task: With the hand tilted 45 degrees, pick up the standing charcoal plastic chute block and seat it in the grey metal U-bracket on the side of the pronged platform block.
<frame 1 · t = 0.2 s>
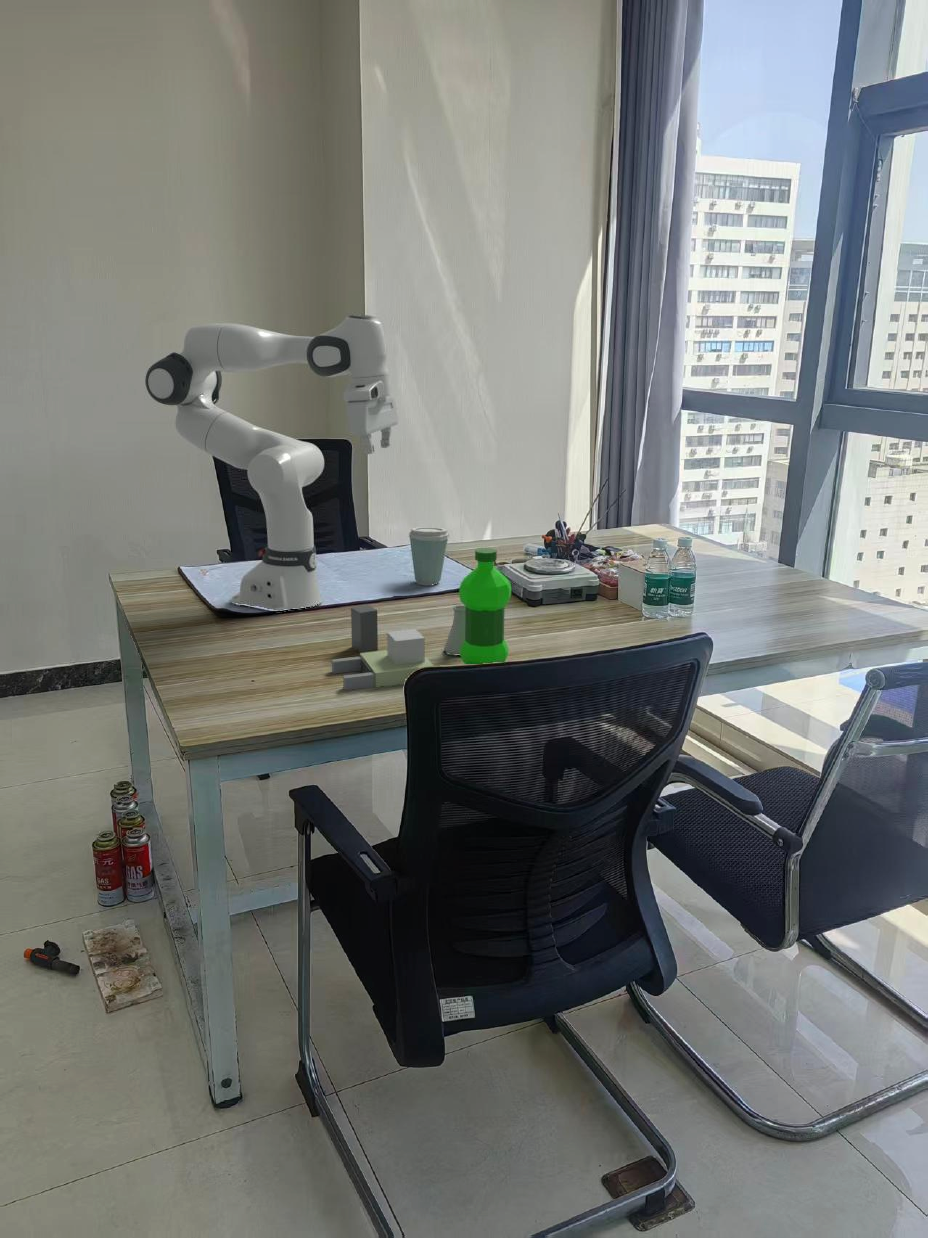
hand: (377, 450, 226), 39 cm above the table, tool pointing down, fingers open, 8 cm apart
disposable coffee cup: (429, 583, 263), on the table
plastic bottle: (484, 670, 201), on the table
flask: (459, 652, 212), on the table
chute block: (364, 648, 213), on the table
pronged platform block: (387, 674, 198), on the table
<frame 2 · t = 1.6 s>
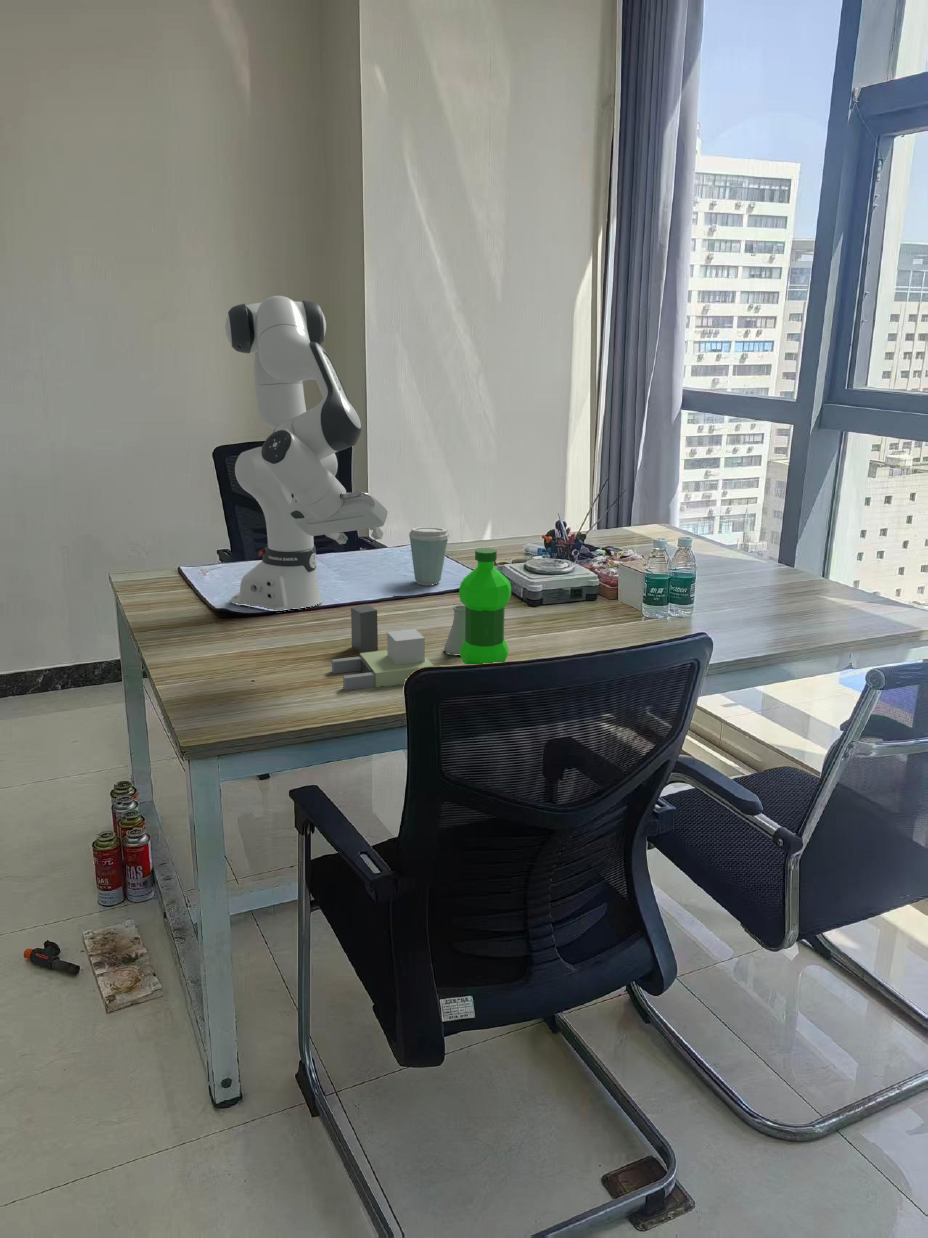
hand: (361, 539, 205), 24 cm above the table, tool tilted 45°, fingers open, 8 cm apart
nothing on the table moved.
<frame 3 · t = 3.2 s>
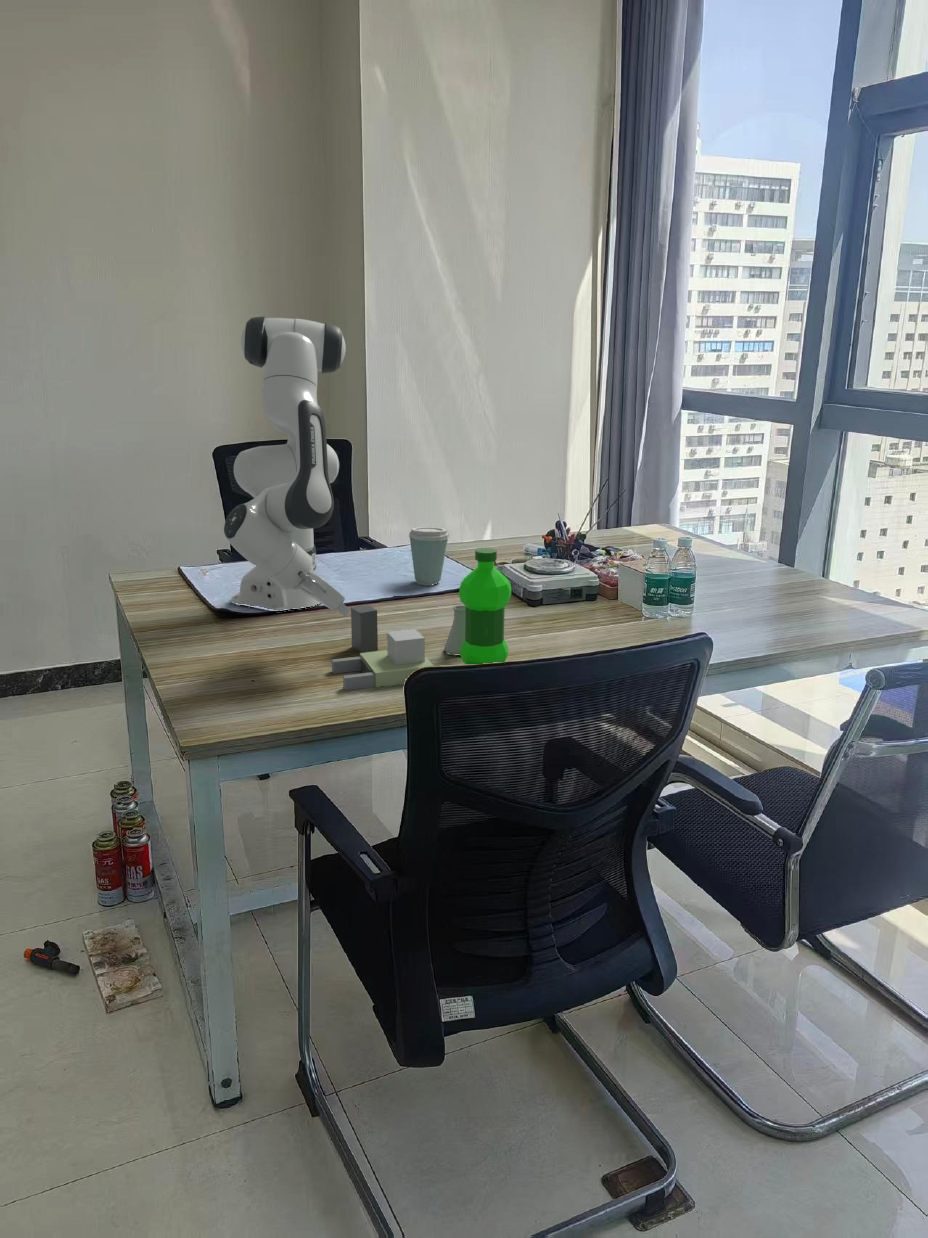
hand: (336, 606, 206), 10 cm above the table, tool tilted 45°, fingers open, 8 cm apart
nothing on the table moved.
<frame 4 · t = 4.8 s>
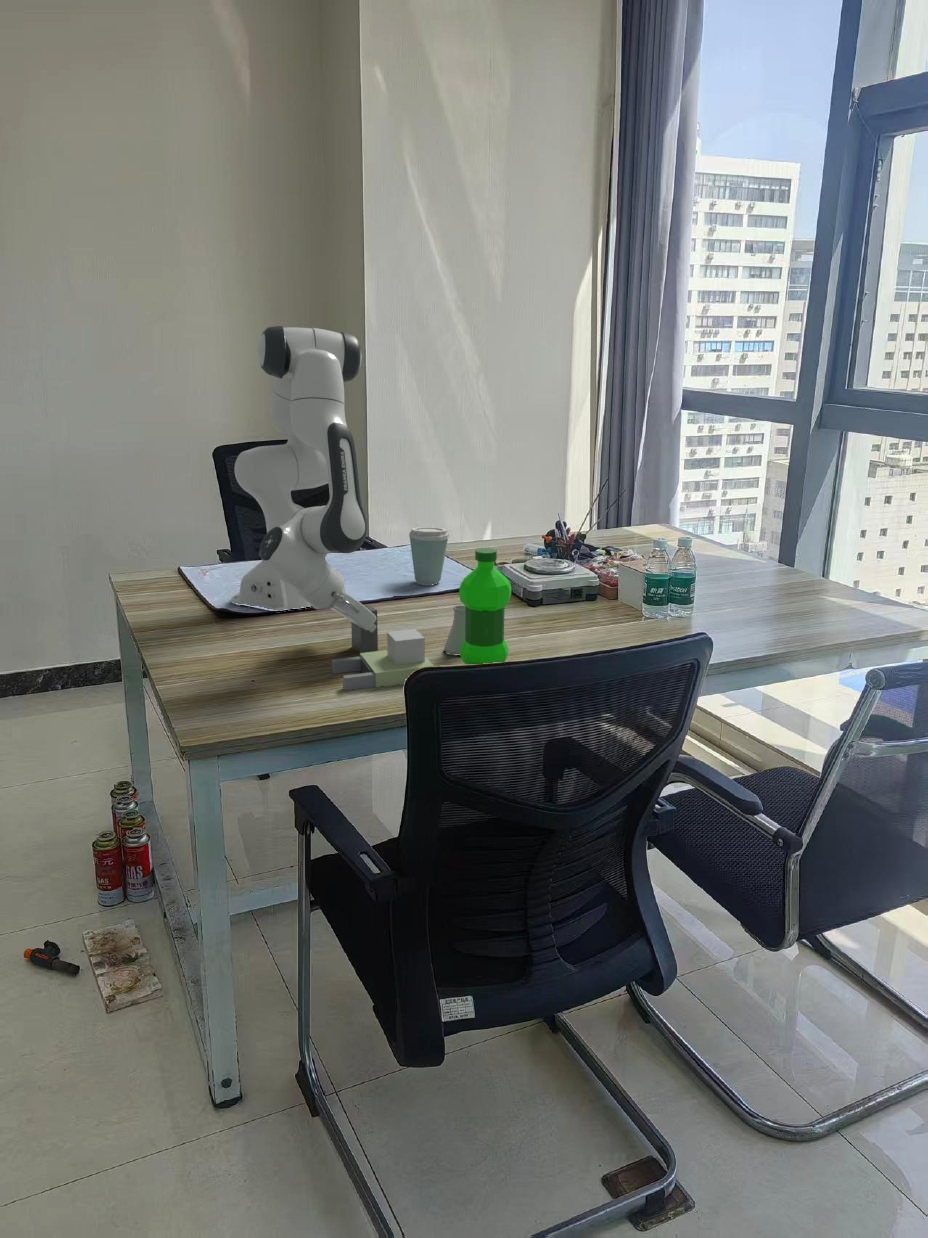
hand: (367, 625, 212), 5 cm above the table, tool tilted 45°, fingers closed on chute block, 4 cm apart
chute block: (364, 648, 213), on the table, touching gripper
everything else where it was.
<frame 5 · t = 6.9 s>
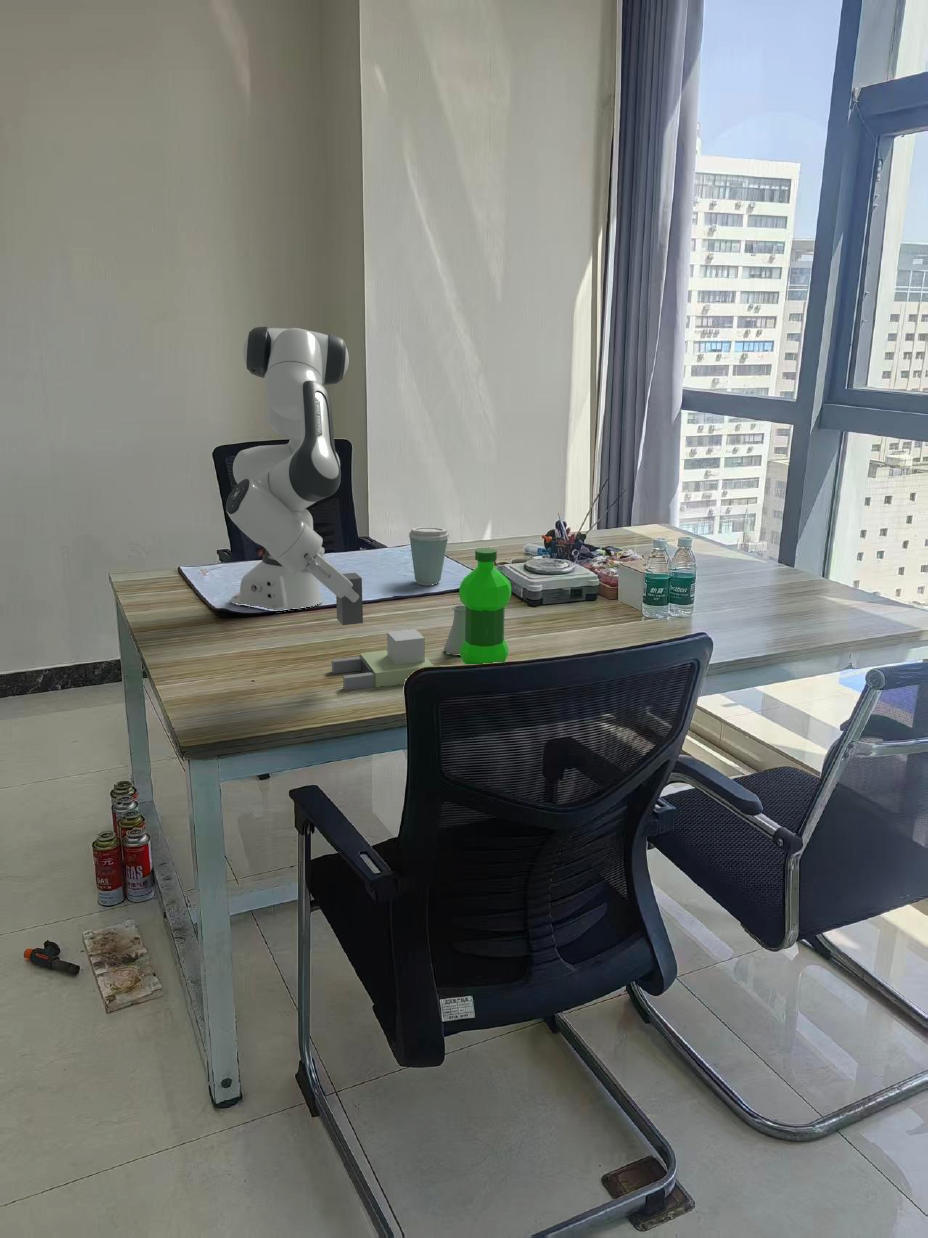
hand: (352, 595, 191), 17 cm above the table, tool tilted 45°, fingers closed on chute block, 4 cm apart
chute block: (349, 620, 192), point 12 cm above the table, touching gripper
everything else where it was.
when the fingers open (7 cm above the table, at t = 9.2 s): chute block drops 1 cm, on the table.
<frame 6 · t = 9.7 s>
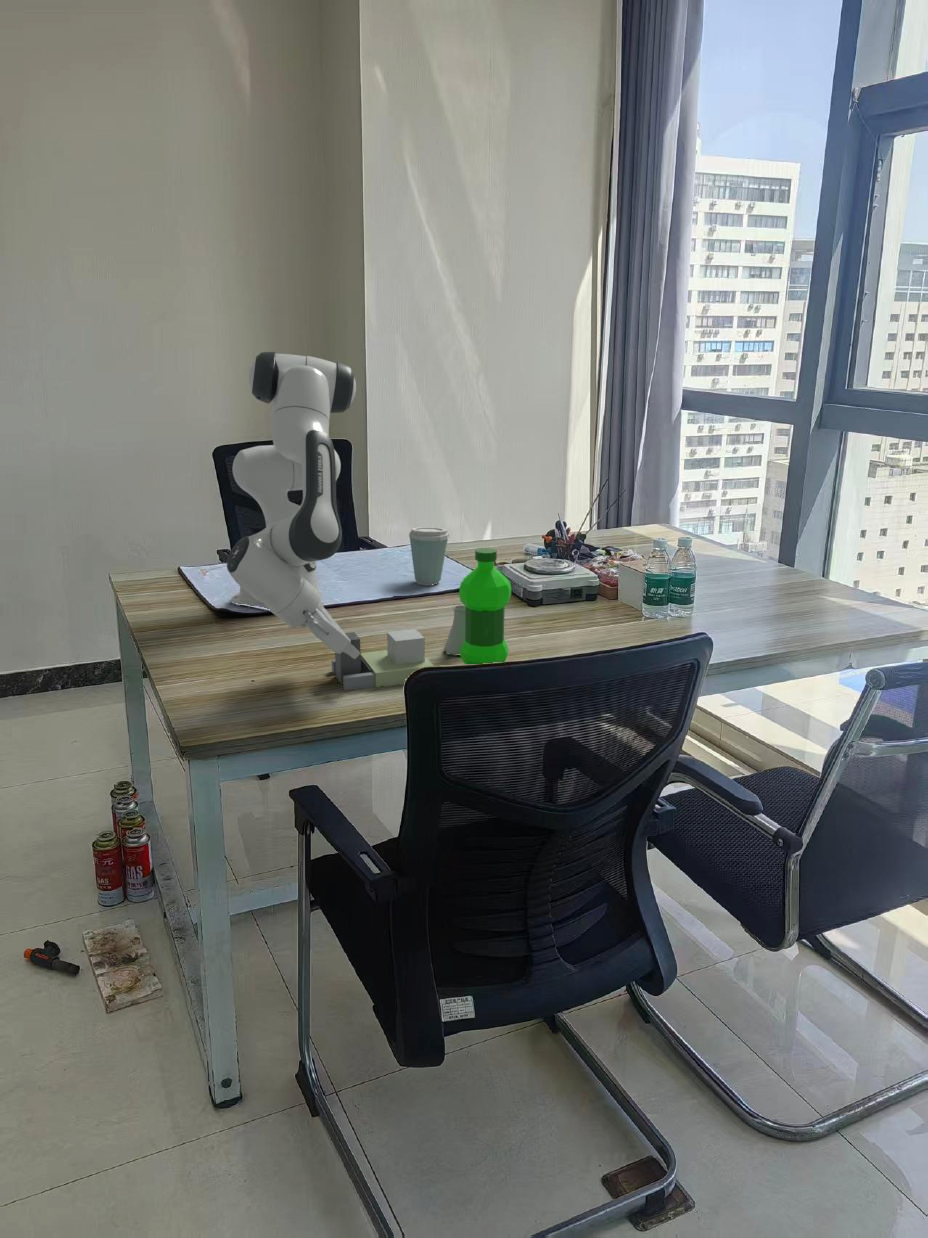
hand: (350, 647, 193), 7 cm above the table, tool tilted 45°, fingers open, 8 cm apart
chute block: (348, 679, 195), on the table
everything else where it was.
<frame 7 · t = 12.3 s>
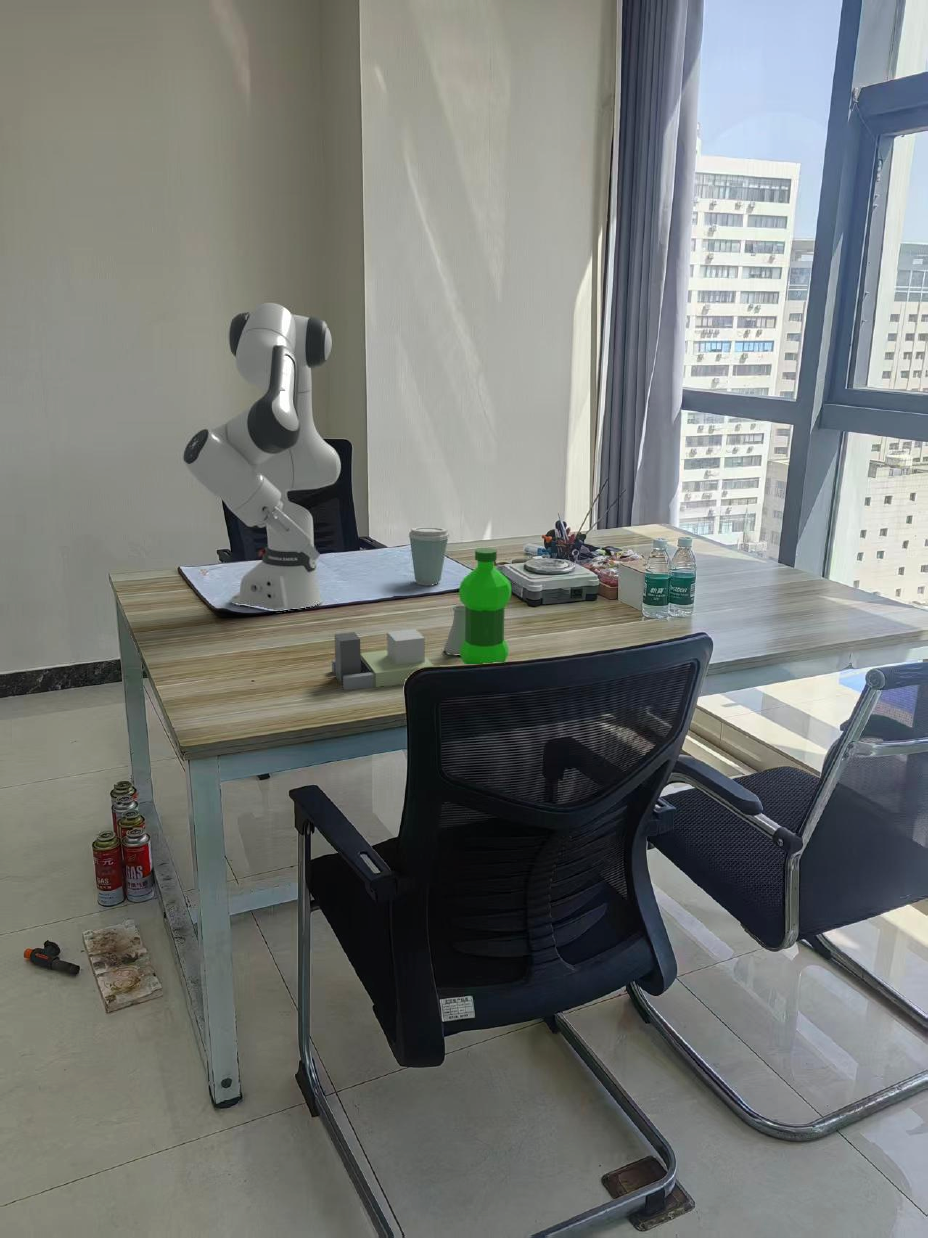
hand: (309, 551, 190), 25 cm above the table, tool tilted 45°, fingers open, 8 cm apart
nothing on the table moved.
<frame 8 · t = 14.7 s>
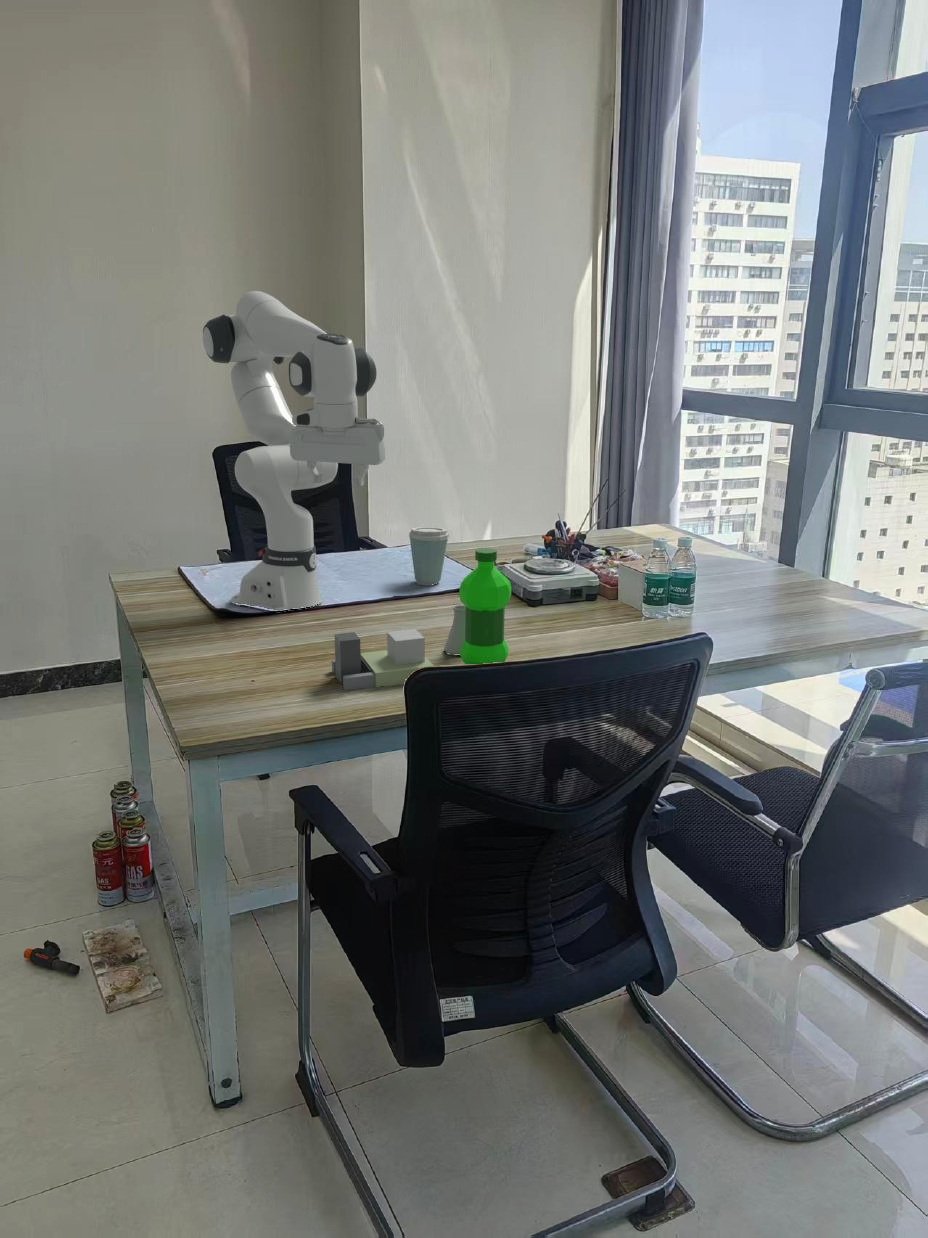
hand: (338, 483, 206), 35 cm above the table, tool pointing down, fingers open, 8 cm apart
nothing on the table moved.
at the end: chute block 0.0 cm from the target spot, on the table; chute block tilted 0°; the gripper is holding nothing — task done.
